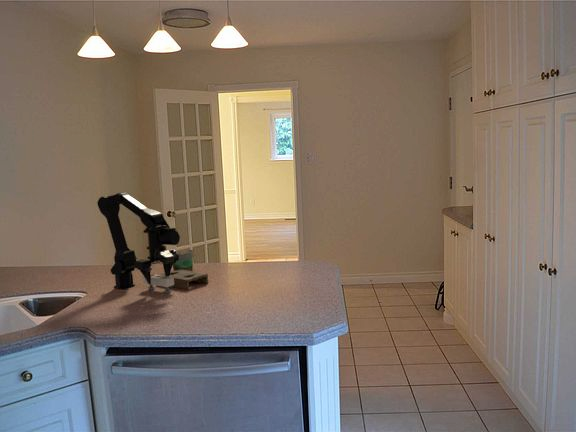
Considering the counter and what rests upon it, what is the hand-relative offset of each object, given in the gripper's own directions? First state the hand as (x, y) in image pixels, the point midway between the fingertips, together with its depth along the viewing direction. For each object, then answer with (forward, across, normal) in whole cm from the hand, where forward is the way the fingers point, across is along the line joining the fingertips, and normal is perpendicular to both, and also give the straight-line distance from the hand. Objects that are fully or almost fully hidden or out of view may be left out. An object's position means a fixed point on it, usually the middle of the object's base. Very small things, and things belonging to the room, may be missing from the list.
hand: (158, 281), depth 212 cm
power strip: (+4, 0, 0) cm, 4 cm away
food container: (+4, +26, +12) cm, 29 cm away
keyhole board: (+4, +13, 0) cm, 14 cm away
